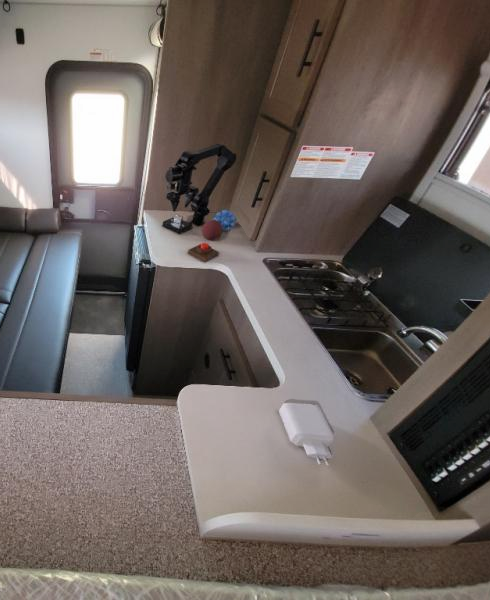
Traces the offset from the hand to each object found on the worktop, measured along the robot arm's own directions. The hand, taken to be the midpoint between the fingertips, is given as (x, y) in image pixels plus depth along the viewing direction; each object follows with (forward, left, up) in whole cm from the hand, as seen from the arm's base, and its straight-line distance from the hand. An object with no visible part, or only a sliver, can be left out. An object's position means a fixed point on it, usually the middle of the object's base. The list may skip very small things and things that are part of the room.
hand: (179, 209), depth 172 cm
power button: (+12, +27, -7) cm, 30 cm away
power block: (+12, +27, -11) cm, 31 cm away
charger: (+66, +102, -11) cm, 122 cm away
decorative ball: (-4, +19, -11) cm, 22 cm away
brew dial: (0, 0, -7) cm, 7 cm away
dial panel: (0, 0, -11) cm, 11 cm away
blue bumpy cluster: (-16, +18, -11) cm, 26 cm away
